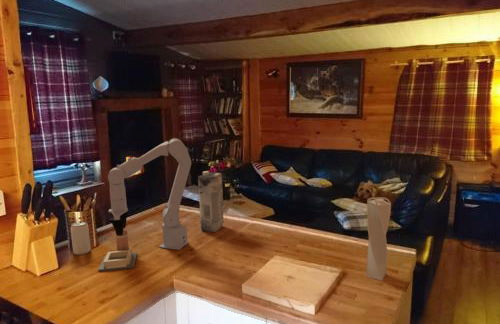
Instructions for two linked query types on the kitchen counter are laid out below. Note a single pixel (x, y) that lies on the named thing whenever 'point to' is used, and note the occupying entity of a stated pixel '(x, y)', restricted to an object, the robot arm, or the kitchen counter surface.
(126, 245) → the tube
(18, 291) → the kitchen counter surface
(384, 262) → the skyscraper
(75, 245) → the can
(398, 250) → the kitchen counter surface
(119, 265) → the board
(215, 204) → the juice carton
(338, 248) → the kitchen counter surface
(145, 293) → the kitchen counter surface
